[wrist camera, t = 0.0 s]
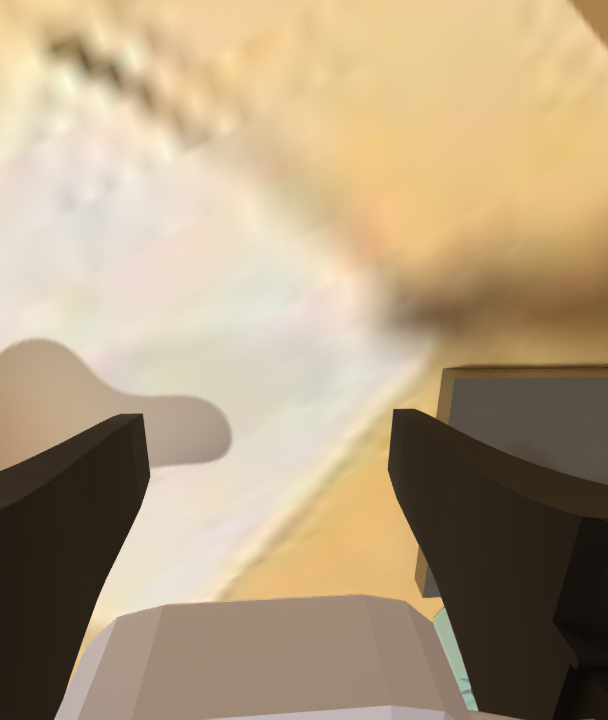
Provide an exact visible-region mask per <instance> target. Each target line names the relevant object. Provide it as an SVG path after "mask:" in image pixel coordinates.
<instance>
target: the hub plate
mask: <svg viewBox="0 0 608 720" xmlns="http://www.w3.org/2000/svg"><path fill="white" fill-rule="evenodd" d="M436 419H437V420H439V421H441V422H443V423H445V424H447V425H449V426H451V427H453V428H455V429H457V430H458V431H460V432H462V433H464V434H466V435H468V436H470V437H472V438H474V439H476V440H478V441H481V442H483V443H485V444H487V445H489V446H492V447H494V448H496V449H498V450H500V451H503V452H505V453H508V454H510V455H512V456H515V457H518V458H520V459H523V460H526V461H528V462H531V463H534V464H537V465H539V466H542V467H545V468H549V469H552V470H555V471H558V472H562V473H565V474H568V475H572V476H575V477H579V478H582V479H586V480H590V481H594V482H598V483H602V484H606V485H608V367H606V368H502V369H443V373H442V380H441V388H440V395H439V403H438V410H437V417H436ZM415 580H416V583H417V585H418V588H419V590H420V593H421V595H422V598H430V597H441V595H440V592H439V590H438V587H437V584H436V581H435V579H434V576H433V574H432V572H431V569H430V567H429V565H428V563H427V561H426V558H425V556H424V554H423V552H422V550H421V548H420V546H419V550H418V558H417V565H416V573H415Z"/></svg>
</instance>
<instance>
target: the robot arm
mask: <svg viewBox="0 0 608 720" xmlns="http://www.w3.org/2000/svg"><path fill="white" fill-rule="evenodd" d="M388 472H389V475H390V479H391V482H392V485H393V488H394V491H395V495H396V498H397V500H398V502H399V504H400V506H401V509H402V511H403V513H404V515H405V517H406V519H407V521H408V523H409V525H410V527H411V530H412V532H413V534H414V536H415V538H416V540H417V542H418V544H419V546H420V548H421V550H422V552H423V554H424V556H425V558H426V561H427V563H428V565H429V567H430V569H431V572H432V574H433V576H434V579H435V581H436V584H437V587H438V590H439V592H440V595H441V598H442V601H443V604H444V606H445V609H446V612H447V615H448V618H449V621H450V624H451V627H452V630H453V633H454V636H455V639H456V642H457V645H458V647H459V650H460V653H461V656H462V660H463V663H464V666H465V669H466V673H467V676H468V679H469V682H470V686H471V689H472V692H473V695H474V699H475V702H476V705H477V708H478V711H474V710H469V709H467V706H466V704H465V701H464V699H463V696H462V694H461V691H460V689H459V686H458V684H457V682H456V679H455V677H454V674H453V672H452V669H451V667H450V664H449V662H448V659H447V657H446V654H445V652H444V649H443V647H442V644H441V642H440V640H439V637H438V635H437V632H436V630H435V627H434V625H433V623H432V622H431V621H430V620H428V619H427V618H426V617H425V616H423V615H422V614H421V613H419V612H418V611H417V610H416V609H414V608H413V607H412V606H411V605H409V604H408V603H407V602H406V601H402V600H397V599H391V598H384V597H378V596H372V595H365V594H348V595H329V596H311V597H292V598H273V599H255V600H236V601H217V602H199V603H180V604H166V605H162V606H158V607H154V608H150V609H146V610H142V611H138V612H135V613H131V614H127V615H123V616H120V617H117V618H116V619H115V620H114V621H113V622H112V623H110V624H109V625H108V626H107V627H106V628H105V629H104V630H103V631H101V632H100V633H99V634H98V635H97V636H96V637H95V638H94V639H92V640H91V641H90V642H89V643H88V644H87V646H86V648H85V651H84V653H83V655H82V657H81V660H80V662H79V664H78V667H77V669H76V671H75V673H74V676H73V678H72V680H71V683H70V685H69V687H68V689H67V692H66V688H67V685H68V682H69V679H70V676H71V673H72V670H73V667H74V664H75V661H76V658H77V656H78V653H79V650H80V647H81V644H82V641H83V638H84V635H85V632H86V629H87V627H88V624H89V621H90V618H91V616H92V613H93V610H94V607H95V605H96V602H97V599H98V597H99V594H100V592H101V590H102V587H103V585H104V583H105V580H106V578H107V576H108V574H109V572H110V570H111V568H112V566H113V564H114V562H115V560H116V558H117V556H118V554H119V552H120V550H121V547H122V545H123V543H124V541H125V539H126V537H127V535H128V533H129V531H130V529H131V527H132V525H133V523H134V520H135V518H136V516H137V514H138V512H139V510H140V508H141V505H142V502H143V499H144V496H145V493H146V489H147V486H148V483H149V479H150V469H149V461H148V452H147V445H146V436H145V428H144V419H143V414H119V415H116V416H114V417H111V418H109V419H107V420H105V421H103V422H101V423H99V424H97V425H95V426H93V427H91V428H89V429H87V430H85V431H84V432H82V433H80V434H78V435H76V436H74V437H72V438H70V439H68V440H66V441H64V442H63V443H60V444H59V445H56V446H54V447H52V448H50V449H48V450H46V451H44V452H42V453H40V454H38V455H36V456H34V457H32V458H30V459H27V460H25V461H23V462H21V463H19V464H16V465H14V466H12V467H9V468H7V469H4V470H2V471H0V720H608V485H606V484H602V483H598V482H594V481H590V480H586V479H582V478H579V477H575V476H572V475H568V474H565V473H562V472H558V471H555V470H552V469H549V468H545V467H542V466H539V465H537V464H534V463H531V462H528V461H526V460H523V459H520V458H518V457H515V456H512V455H510V454H508V453H505V452H503V451H500V450H498V449H496V448H494V447H492V446H489V445H487V444H485V443H483V442H481V441H478V440H476V439H474V438H472V437H470V436H468V435H466V434H464V433H462V432H460V431H458V430H457V429H455V428H453V427H451V426H449V425H447V424H445V423H443V422H441V421H439V420H437V419H436V418H434V417H432V416H430V415H428V414H426V413H423V412H421V411H419V410H416V409H394V410H393V420H392V430H391V441H390V451H389V461H388ZM65 692H66V694H65ZM64 695H65V696H64Z"/></svg>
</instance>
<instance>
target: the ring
mask: <svg viewBox="0 0 608 720" xmlns="http://www.w3.org/2000/svg"><path fill="white" fill-rule="evenodd" d="M433 625H434V627H435V630H436V632H437V635H438V637H439V640H440V642H441V644H442V647H443V649H444V652H445V654H446V657H447V659H448V662H449V664H450V667H451V669H452V672H453V674H454V677H455V679H456V682H457V684H458V686H459V689H460V691H461V694H462V696H463V699H464V701H465V704H466V706H467V709H469V710H474V711H478V708H477V705H476V702H475V699H474V695H473V692H472V689H471V686H470V682H469V679H468V676H467V673H466V669H465V666H464V663H463V660H462V656H461V653H460V650H459V647H458V645H457V642H456V639H455V636H454V633H453V630H452V627H451V624H450V621H449V618H448V615H447V612H446V609H445V606H444V608H443V609H442V610H441V611H440V612H439V613H438V614H437V616H436V617H435V618H434V621H433Z"/></svg>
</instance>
